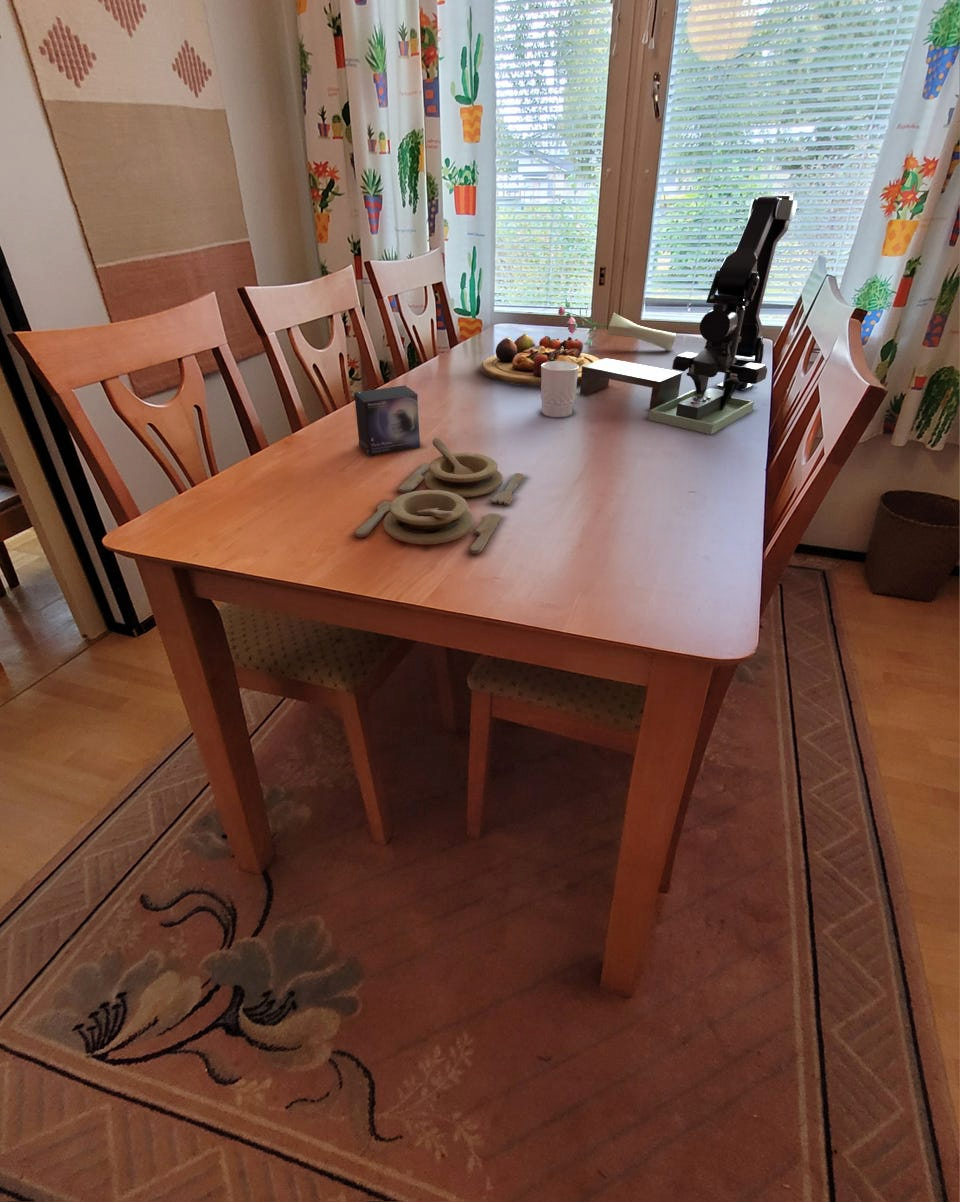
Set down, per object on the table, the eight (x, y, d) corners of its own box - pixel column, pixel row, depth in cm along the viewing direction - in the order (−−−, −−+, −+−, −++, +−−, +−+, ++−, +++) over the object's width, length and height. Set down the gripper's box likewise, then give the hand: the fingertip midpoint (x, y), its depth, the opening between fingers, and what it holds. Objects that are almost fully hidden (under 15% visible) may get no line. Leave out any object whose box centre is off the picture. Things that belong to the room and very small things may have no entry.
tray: (692, 398, 150) (693, 389, 149) (752, 410, 142) (754, 401, 141) (648, 419, 138) (649, 410, 136) (711, 434, 130) (713, 424, 128)
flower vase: (659, 379, 190) (546, 345, 194) (666, 357, 197) (557, 324, 201) (674, 343, 181) (554, 308, 184) (680, 321, 188) (565, 287, 191)
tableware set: (478, 557, 90) (478, 518, 86) (349, 538, 94) (344, 501, 91) (527, 475, 113) (528, 442, 110) (422, 463, 118) (420, 431, 115)
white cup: (579, 409, 143) (583, 363, 138) (568, 420, 137) (571, 372, 132) (546, 405, 146) (548, 359, 140) (533, 415, 140) (535, 368, 135)
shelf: (602, 385, 159) (605, 358, 155) (677, 401, 148) (682, 372, 144) (579, 394, 153) (581, 366, 149) (655, 411, 142) (659, 381, 138)
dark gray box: (707, 399, 145) (710, 386, 143) (727, 403, 142) (730, 390, 141) (675, 415, 136) (677, 401, 134) (696, 420, 133) (698, 406, 132)
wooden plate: (591, 394, 153) (594, 358, 148) (464, 383, 162) (463, 348, 157) (613, 361, 178) (616, 329, 173) (502, 353, 187) (502, 322, 182)
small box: (369, 457, 121) (363, 401, 115) (358, 446, 125) (352, 391, 119) (421, 447, 125) (418, 392, 119) (409, 437, 129) (405, 384, 123)
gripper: (665, 332, 134) (654, 407, 143) (754, 346, 123) (736, 426, 132) (690, 324, 141) (678, 396, 149) (776, 336, 130) (758, 413, 139)
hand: (710, 407), depth 142 cm, fingers closed on dark gray box, 4 cm apart
